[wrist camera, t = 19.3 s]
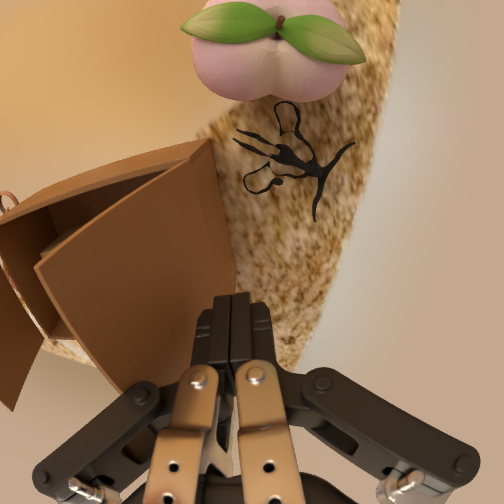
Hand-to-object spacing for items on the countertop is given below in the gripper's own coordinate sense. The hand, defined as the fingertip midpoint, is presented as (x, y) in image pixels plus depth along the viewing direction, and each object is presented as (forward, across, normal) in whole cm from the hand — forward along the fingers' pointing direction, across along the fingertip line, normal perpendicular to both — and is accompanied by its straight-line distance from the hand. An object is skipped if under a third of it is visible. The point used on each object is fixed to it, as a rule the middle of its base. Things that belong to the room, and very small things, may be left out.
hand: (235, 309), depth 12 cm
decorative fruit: (+13, -4, -12) cm, 18 cm away
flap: (-1, +2, 0) cm, 3 cm away
